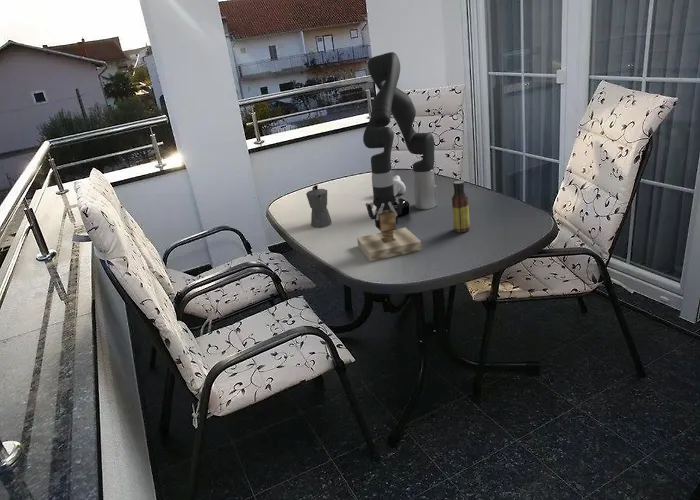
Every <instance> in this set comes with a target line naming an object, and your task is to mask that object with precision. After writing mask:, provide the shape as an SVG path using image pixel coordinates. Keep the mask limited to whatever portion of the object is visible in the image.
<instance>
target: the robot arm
mask: <svg viewBox="0 0 700 500" xmlns="http://www.w3.org/2000/svg"><path fill="white" fill-rule="evenodd" d="M367 69H368V73H369V75H370V77H371V79H372V81H373V83H374V85H375V86H376V87H377V89H378V92H377V94H376V95H375V97H374V98H373V101H372V105H371V113H370V119H369V120H368V123H367V126H366V127H365V130H364V132H363V136H362V139H363V144H364V146H365V147H366V148H368V149H383V151H382V152H380V153H376V154H373V155H372V156H371V157H370V167H371V168H370V169H371V183H372V185H371V186H372V195H373V200H372V202H367V203H365V207H366V210H367V213H368V217H369V218H370V219H371V220H372V221H373V220H374V226H375V227H376V228H377V230H379V229H380V220H379V218H380V217H379V215H381V213H382V211H385V210H390V211H392V212H394V213H395V217H396V225H398V222H399V221H398V216H399V215H402V213H403V204H404V199H403V198H402V197H401V196H398V197H396V196H394V187H393V177H394V176H393V172H392V171H393V170H392V162H391V159H392V148H393V144H394V140H395V139H394V137H395V134H394V130H393V129H392V128H391V127H389V125H390V123H391V119H392V118H391V115H392V116H393V118H394V120H395V122H396V124H397V126H398V127H399V130H400V132H401V135H402V137H403V140H404V143H405V145H406V147H407V150H408V152H409V153H410V154H411V155H420V156H421V155H422V159H421V160H418V161H416V162H413V164H412V177H413V193H414V194H413V195H414V206H415V208H416V209H417V210H429V209H433V208H435V207H438V194H437V192H438V191H437V185H436V184H435V139H434V136H433V134H432V133H430V132H416V131H415V129H414V126H413V125H414V122H415V118H416V114H417V110H416V107H415V105H414V103H413V101H412V98H411V97H410V96H409V94H407V93H406V92H405V91H403V90H401V89H400V88H398V87H397V85H398V82H399V78H400V74H401V62H400V59H399V56H398V55H397V54H396V53H395V52H393V51H391V52H386V53H383V54H382V53H381V54H379V55H375V56H373V57H371V58H369V59H368V62H367ZM395 203H396V209H395V207H394V204H395ZM374 206H375V207H376V208H375V211H373V209H374Z"/></svg>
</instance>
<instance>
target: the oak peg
mask: <svg viewBox="0 0 700 500" xmlns="http://www.w3.org/2000/svg"><path fill="white" fill-rule="evenodd" d="M379 217H380V218H379V220H380V229H378V230H379V231H380V233H381V232H382V236H383V237H384V238H389V237H393V233H394V230H397V229H398V228H397V224H396V217H395V213H394V212H392V211H390V210H385V211H382V213H381V215H379Z"/></svg>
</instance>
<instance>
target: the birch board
mask: <svg viewBox="0 0 700 500" xmlns="http://www.w3.org/2000/svg"><path fill="white" fill-rule="evenodd" d="M396 229H397V230H394V233H393V237H389V238H384V237H383V236H382V232H381V231H380V232H378V233H373V234H368V235H363V236H359V237H356V241H357V246H358V248H359V249H360V250H361V252H362V253H363V254H364V256H365V257H366V258H367V260H368V261H369V262H374V261H379V260H382V259H388V258H392V257H397V256H400V255H401V256H402V255H405V254H410V253H414V252H420V251H422V241H421V240H420V239H419V238H418V237H417V236H416V235H414V234H413V232H411V231H410V230H409V229H408V228H407V227H406V226H405V227H401V228H396Z"/></svg>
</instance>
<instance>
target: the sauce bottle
mask: <svg viewBox="0 0 700 500" xmlns="http://www.w3.org/2000/svg"><path fill="white" fill-rule="evenodd" d="M452 184H453V189H454V190H453V196H452V197H451V203H452V204H451V209H452V220H453V221H452V222H453V228H454V229H453V230H454V231H455V232H456V233H466V232H469V231H470V226H471V224H470V210H469V208H470V207H469V206H470V205H469V201H468V196H467V195H466V193H465V181H464V180H455V181H453V183H452Z"/></svg>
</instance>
